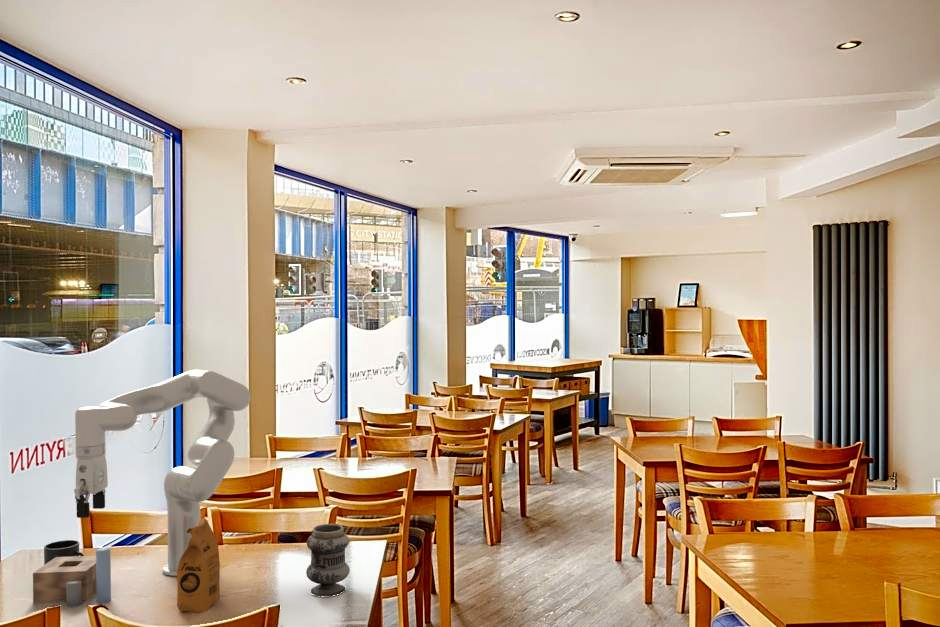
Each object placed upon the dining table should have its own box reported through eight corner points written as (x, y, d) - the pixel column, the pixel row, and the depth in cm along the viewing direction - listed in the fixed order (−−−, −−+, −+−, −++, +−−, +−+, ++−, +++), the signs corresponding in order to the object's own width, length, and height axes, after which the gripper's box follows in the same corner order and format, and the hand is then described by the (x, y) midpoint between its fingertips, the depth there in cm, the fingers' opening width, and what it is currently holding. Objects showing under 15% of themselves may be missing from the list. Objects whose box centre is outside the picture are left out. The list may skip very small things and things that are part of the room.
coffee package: (170, 613, 202) (169, 529, 202) (190, 596, 214) (189, 517, 214) (207, 613, 201) (206, 529, 201) (225, 596, 213) (224, 517, 213)
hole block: (105, 582, 226) (105, 555, 226) (86, 600, 212) (86, 571, 212) (56, 584, 224) (55, 557, 224) (33, 602, 210) (32, 573, 210)
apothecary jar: (336, 601, 209) (335, 535, 209) (297, 596, 213) (297, 531, 213) (357, 586, 220) (356, 523, 220) (321, 581, 224) (320, 520, 224)
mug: (74, 580, 228) (74, 549, 228) (37, 579, 229) (36, 548, 229) (93, 569, 237) (93, 540, 237) (57, 568, 239) (57, 539, 239)
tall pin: (112, 597, 213) (112, 547, 213) (107, 602, 209) (107, 551, 209) (99, 598, 213) (98, 547, 213) (94, 603, 209) (93, 551, 209)
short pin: (83, 601, 210) (83, 579, 210) (78, 606, 207) (77, 584, 207) (70, 602, 210) (69, 580, 210) (64, 607, 207) (64, 585, 207)
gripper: (90, 456, 206) (90, 520, 206) (117, 445, 223) (117, 504, 223) (61, 457, 205) (62, 521, 205) (90, 446, 223) (91, 505, 223)
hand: (91, 512), depth 214 cm, fingers open, 9 cm apart
